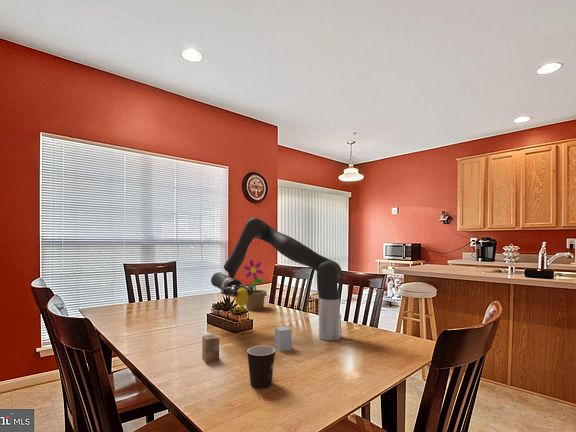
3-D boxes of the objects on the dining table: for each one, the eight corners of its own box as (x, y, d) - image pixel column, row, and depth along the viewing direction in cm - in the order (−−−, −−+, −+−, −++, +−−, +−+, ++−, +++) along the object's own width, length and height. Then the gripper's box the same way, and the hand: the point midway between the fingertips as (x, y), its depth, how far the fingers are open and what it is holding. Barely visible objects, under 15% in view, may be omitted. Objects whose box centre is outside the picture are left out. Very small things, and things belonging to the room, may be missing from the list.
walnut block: (215, 355, 123) (215, 333, 123) (219, 360, 119) (219, 337, 119) (202, 357, 121) (202, 335, 121) (205, 362, 116) (205, 339, 117)
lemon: (235, 305, 137) (235, 286, 137) (248, 305, 137) (248, 285, 137) (234, 308, 131) (234, 288, 131) (248, 308, 132) (248, 288, 132)
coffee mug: (264, 393, 94) (264, 357, 95) (241, 385, 99) (241, 351, 99) (285, 378, 104) (285, 345, 104) (263, 371, 108) (264, 341, 109)
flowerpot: (239, 311, 193) (240, 259, 194) (246, 305, 207) (247, 258, 209) (263, 312, 191) (263, 260, 192) (269, 306, 205) (269, 258, 206)
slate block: (286, 345, 134) (286, 326, 134) (291, 349, 129) (291, 329, 129) (274, 347, 131) (274, 327, 132) (280, 351, 127) (280, 330, 127)
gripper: (215, 279, 144) (226, 285, 129) (246, 277, 151) (260, 282, 135) (215, 296, 144) (226, 304, 129) (246, 293, 150) (260, 300, 135)
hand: (243, 293), depth 132 cm, fingers closed on lemon, 5 cm apart
